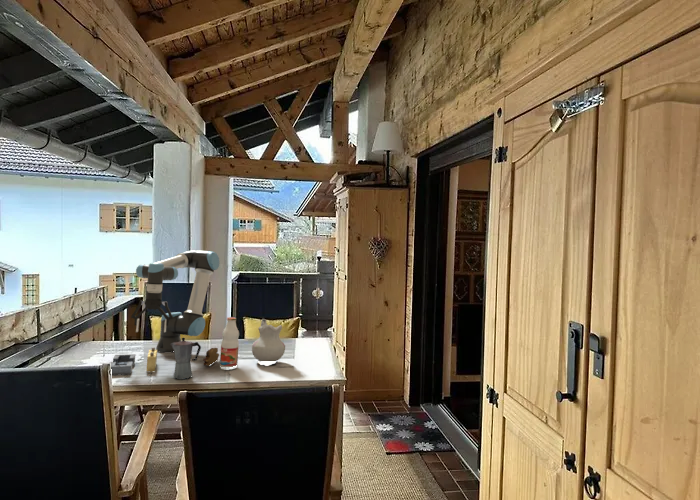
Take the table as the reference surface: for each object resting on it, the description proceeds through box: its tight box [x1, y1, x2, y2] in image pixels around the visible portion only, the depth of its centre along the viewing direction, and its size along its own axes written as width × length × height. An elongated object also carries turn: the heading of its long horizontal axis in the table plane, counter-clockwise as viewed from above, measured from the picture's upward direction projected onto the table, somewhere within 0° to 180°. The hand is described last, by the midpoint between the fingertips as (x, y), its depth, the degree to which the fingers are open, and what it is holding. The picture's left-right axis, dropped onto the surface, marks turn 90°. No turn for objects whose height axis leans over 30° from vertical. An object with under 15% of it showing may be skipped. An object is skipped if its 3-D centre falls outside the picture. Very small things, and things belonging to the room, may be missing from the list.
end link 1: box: [112, 353, 136, 367], centre depth 235 cm, size 8×10×4 cm
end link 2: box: [109, 361, 133, 377], centre depth 221 cm, size 8×10×4 cm
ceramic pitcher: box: [251, 318, 286, 361], centre depth 257 cm, size 22×20×25 cm
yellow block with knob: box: [146, 347, 158, 372], centre depth 233 cm, size 15×4×10 cm, turn 21°
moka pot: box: [170, 337, 202, 380], centre depth 221 cm, size 10×15×20 cm, turn 95°
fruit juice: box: [219, 316, 240, 367], centre depth 242 cm, size 9×9×28 cm
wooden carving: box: [202, 347, 220, 367], centre depth 244 cm, size 16×5×10 cm, turn 178°
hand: (151, 331), depth 233 cm, fingers open, 13 cm apart
